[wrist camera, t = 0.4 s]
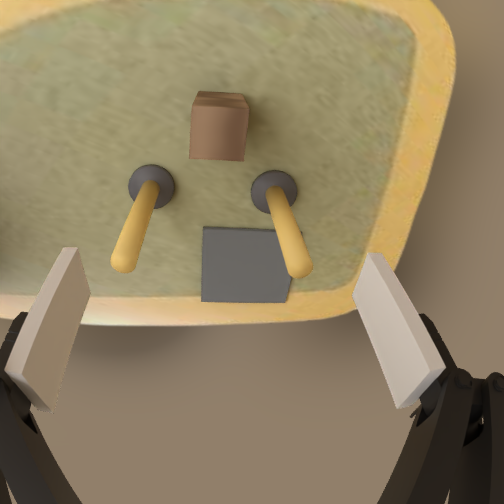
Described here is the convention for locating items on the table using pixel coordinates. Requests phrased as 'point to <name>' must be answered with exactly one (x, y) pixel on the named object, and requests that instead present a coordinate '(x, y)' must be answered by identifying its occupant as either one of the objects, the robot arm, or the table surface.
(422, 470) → the robot arm
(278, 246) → the mat
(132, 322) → the table surface
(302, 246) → the gate
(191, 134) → the block
